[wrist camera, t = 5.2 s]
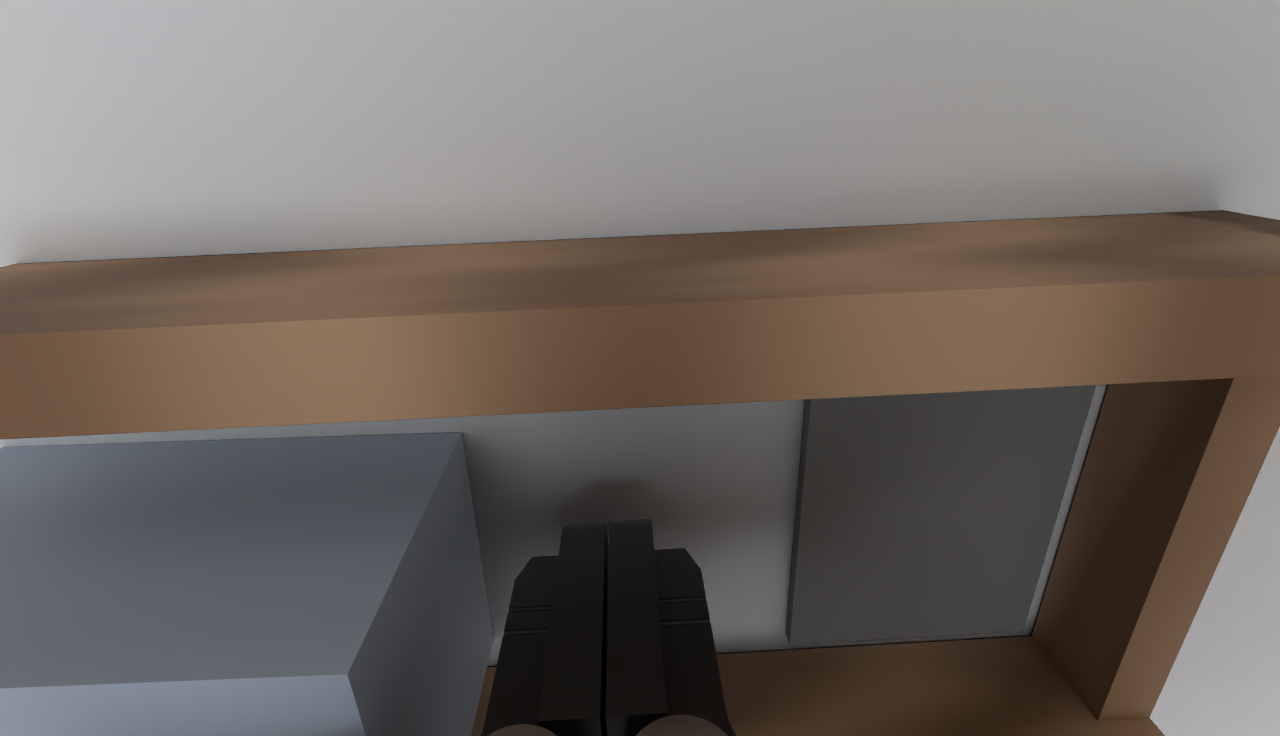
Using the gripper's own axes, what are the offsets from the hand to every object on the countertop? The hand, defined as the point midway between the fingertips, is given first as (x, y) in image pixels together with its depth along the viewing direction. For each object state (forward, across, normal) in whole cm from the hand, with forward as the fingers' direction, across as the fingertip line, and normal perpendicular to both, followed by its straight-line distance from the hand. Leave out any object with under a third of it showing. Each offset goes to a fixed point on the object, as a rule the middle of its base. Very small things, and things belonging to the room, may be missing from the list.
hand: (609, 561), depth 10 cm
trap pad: (+1, -6, 0) cm, 6 cm away
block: (+1, +7, 0) cm, 7 cm away
